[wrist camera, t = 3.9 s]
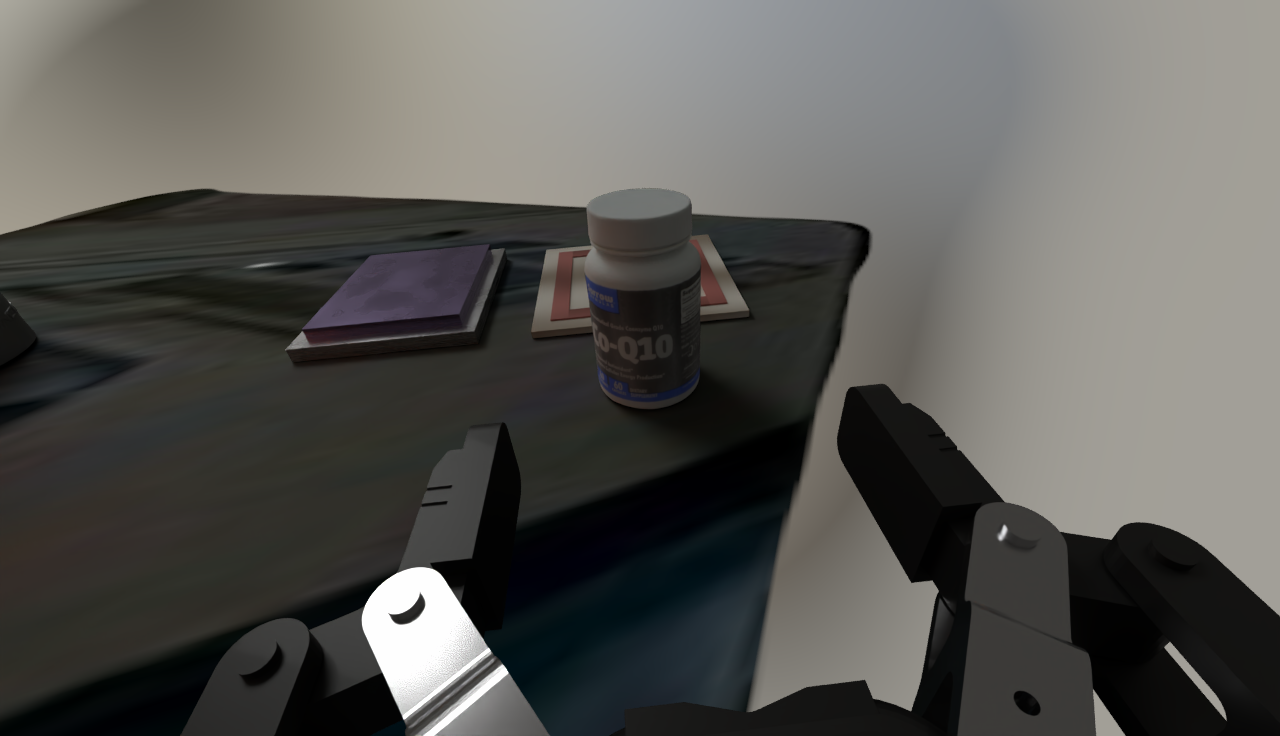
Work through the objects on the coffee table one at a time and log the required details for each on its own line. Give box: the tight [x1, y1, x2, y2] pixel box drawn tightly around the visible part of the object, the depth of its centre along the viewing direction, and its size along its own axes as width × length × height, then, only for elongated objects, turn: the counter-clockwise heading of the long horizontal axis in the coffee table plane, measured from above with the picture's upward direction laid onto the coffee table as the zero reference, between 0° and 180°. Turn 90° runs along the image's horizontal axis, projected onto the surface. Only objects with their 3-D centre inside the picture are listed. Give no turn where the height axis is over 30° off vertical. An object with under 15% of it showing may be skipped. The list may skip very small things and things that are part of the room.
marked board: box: [531, 235, 749, 338], centre depth 33 cm, size 12×12×1 cm
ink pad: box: [286, 244, 507, 362], centre depth 32 cm, size 12×10×2 cm
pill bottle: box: [584, 188, 701, 409], centre depth 22 cm, size 5×5×8 cm
